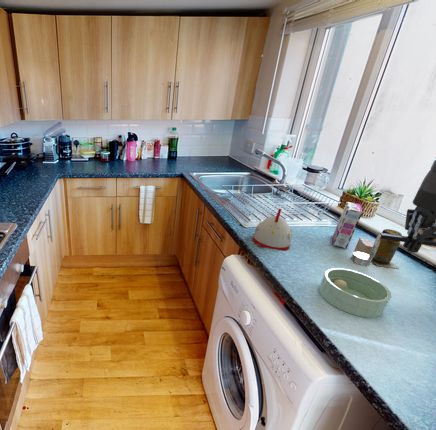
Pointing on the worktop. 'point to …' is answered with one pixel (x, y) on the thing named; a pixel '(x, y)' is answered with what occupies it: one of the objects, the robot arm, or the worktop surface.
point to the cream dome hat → (273, 233)
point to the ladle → (365, 258)
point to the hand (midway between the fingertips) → (409, 249)
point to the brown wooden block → (363, 246)
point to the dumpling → (340, 284)
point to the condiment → (386, 250)
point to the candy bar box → (347, 225)
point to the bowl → (355, 292)
